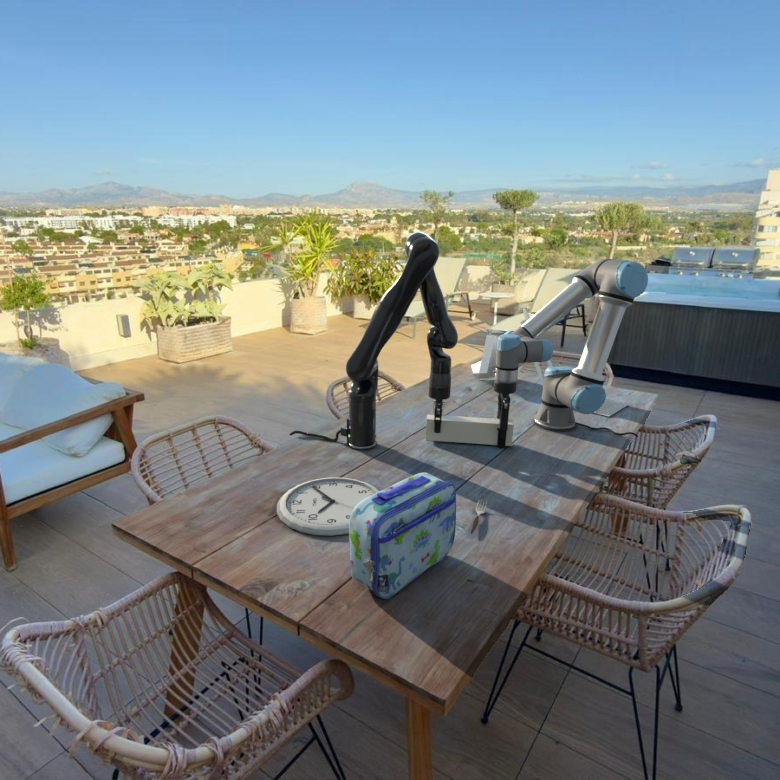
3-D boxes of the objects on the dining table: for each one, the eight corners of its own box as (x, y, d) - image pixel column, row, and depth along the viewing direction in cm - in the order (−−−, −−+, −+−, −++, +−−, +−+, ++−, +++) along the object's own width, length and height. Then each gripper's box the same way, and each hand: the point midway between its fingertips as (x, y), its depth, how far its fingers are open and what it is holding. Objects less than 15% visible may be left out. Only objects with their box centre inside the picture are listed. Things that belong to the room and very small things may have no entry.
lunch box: (377, 612, 103) (378, 518, 97) (342, 586, 111) (341, 497, 104) (459, 557, 121) (465, 475, 115) (425, 538, 128) (428, 460, 122)
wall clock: (392, 527, 129) (268, 531, 127) (391, 533, 130) (269, 537, 127) (383, 473, 158) (282, 475, 155) (383, 478, 158) (282, 480, 156)
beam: (510, 440, 187) (512, 419, 184) (511, 446, 182) (513, 424, 180) (426, 435, 190) (427, 414, 187) (425, 440, 185) (426, 419, 183)
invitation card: (608, 416, 214) (573, 407, 224) (608, 416, 214) (573, 408, 224) (628, 404, 229) (594, 396, 238) (628, 405, 229) (594, 397, 238)
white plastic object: (492, 421, 263) (472, 398, 238) (473, 348, 285) (453, 320, 260) (564, 397, 251) (551, 370, 226) (538, 322, 273) (524, 290, 248)
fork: (465, 534, 130) (466, 527, 129) (478, 504, 144) (478, 498, 144) (476, 536, 129) (476, 529, 128) (487, 506, 143) (488, 499, 143)
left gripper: (429, 377, 188) (427, 422, 193) (428, 389, 175) (425, 436, 180) (450, 378, 187) (448, 423, 192) (450, 390, 174) (447, 438, 179)
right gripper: (492, 372, 187) (488, 433, 194) (496, 387, 170) (491, 453, 177) (514, 373, 186) (508, 434, 193) (519, 388, 169) (513, 454, 176)
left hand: (437, 429), depth 186 cm, fingers closed on beam, 5 cm apart
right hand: (500, 443), depth 185 cm, fingers closed on beam, 5 cm apart
